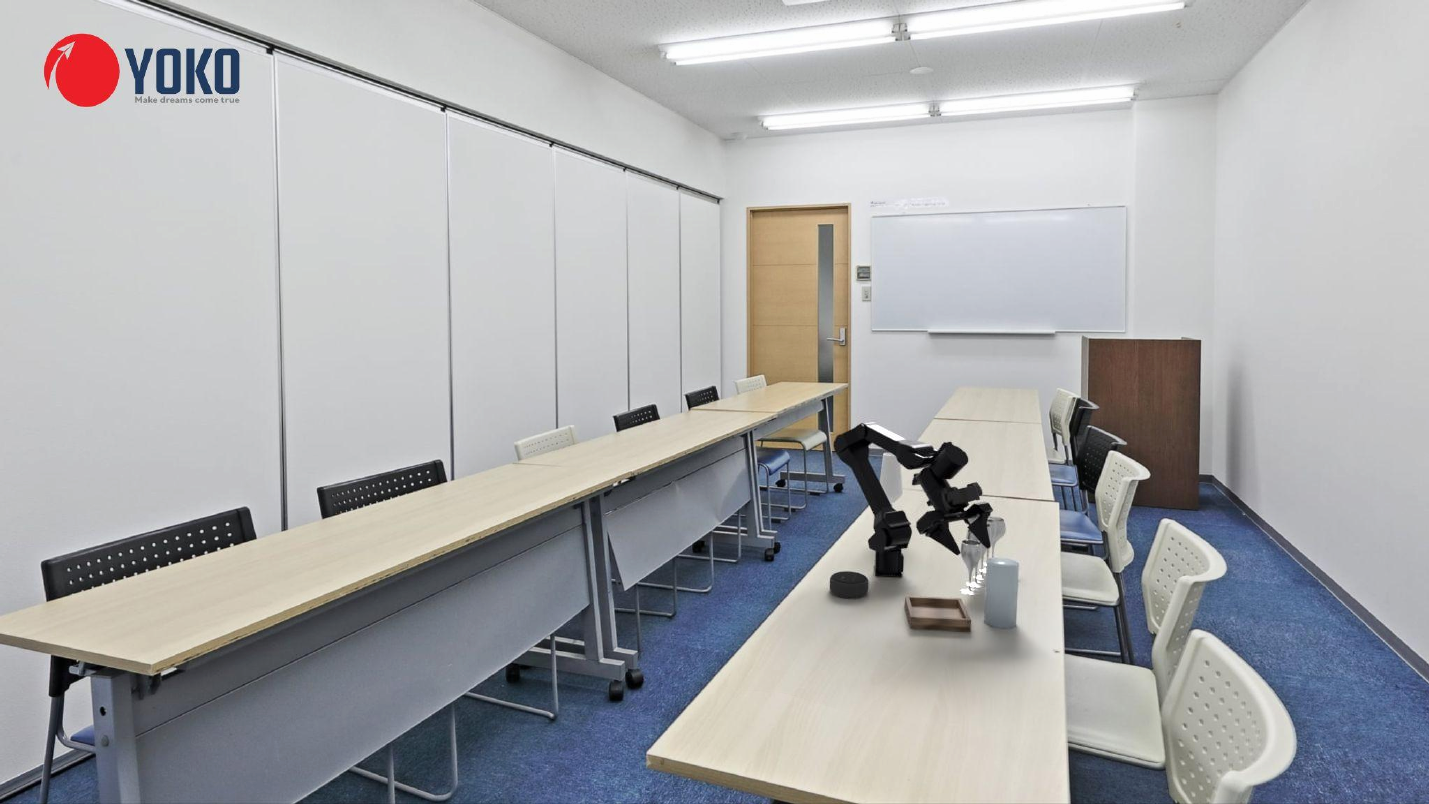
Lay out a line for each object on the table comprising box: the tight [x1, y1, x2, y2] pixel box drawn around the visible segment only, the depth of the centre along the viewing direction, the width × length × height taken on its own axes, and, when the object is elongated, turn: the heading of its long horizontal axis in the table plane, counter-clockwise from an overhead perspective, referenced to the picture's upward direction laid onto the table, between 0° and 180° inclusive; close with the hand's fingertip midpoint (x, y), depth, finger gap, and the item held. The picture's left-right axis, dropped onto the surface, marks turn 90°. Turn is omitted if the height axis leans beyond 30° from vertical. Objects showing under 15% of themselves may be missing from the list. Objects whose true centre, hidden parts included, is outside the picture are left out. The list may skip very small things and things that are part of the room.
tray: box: [904, 595, 972, 633], centre depth 165 cm, size 12×12×2 cm
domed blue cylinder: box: [983, 557, 1020, 629], centre depth 162 cm, size 6×6×13 cm
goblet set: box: [959, 516, 1007, 596], centre depth 189 cm, size 28×6×13 cm, turn 148°
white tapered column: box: [879, 452, 903, 507], centre depth 223 cm, size 7×7×24 cm
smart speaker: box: [829, 570, 870, 599], centre depth 180 cm, size 9×9×4 cm
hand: (974, 551), depth 168 cm, fingers open, 9 cm apart
